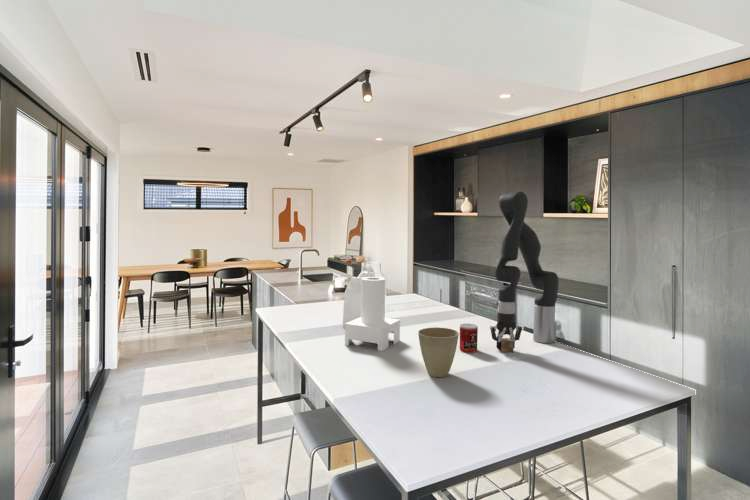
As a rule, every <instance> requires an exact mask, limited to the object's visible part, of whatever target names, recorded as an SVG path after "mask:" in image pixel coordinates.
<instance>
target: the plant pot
mask: <svg viewBox="0 0 750 500" xmlns="http://www.w3.org/2000/svg"><path fill="white" fill-rule="evenodd" d="M417 335H418V340H419V347H420V351H421V355H422V359H423V362H424V366H425V368H426V372H427V374H428V375H429V376H431V377H434V378H445V377H447V376H448V375H449V373H450V371H451V367H452V365H453V363H454V359H455V355H456V352H457V346H458V340H459V336H460V331H457V330H455V329H452V328H448V327H438V326H437V327H425V328H421V329H419V330H418V332H417Z"/></svg>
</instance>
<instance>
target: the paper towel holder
mask: <svg viewBox="0 0 750 500" xmlns="http://www.w3.org/2000/svg"><path fill="white" fill-rule="evenodd" d="M389 334H393V344H394V345H395V344H396V343H398V342H400V341H401V319H397V318H396V319H395V318H388V317H386V278H385V277H382V276H381V277H380V276H368V277H366V276H365V277H361V317H360V318H357V319H355V320H353V321H350V322H348V323H345V328H344V345H345V346H349V345H350V343H352V342H353V341H359V342H366V343H372V344H377V351H379V352H383V351H384V350H386V349H388V348H389Z"/></svg>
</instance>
